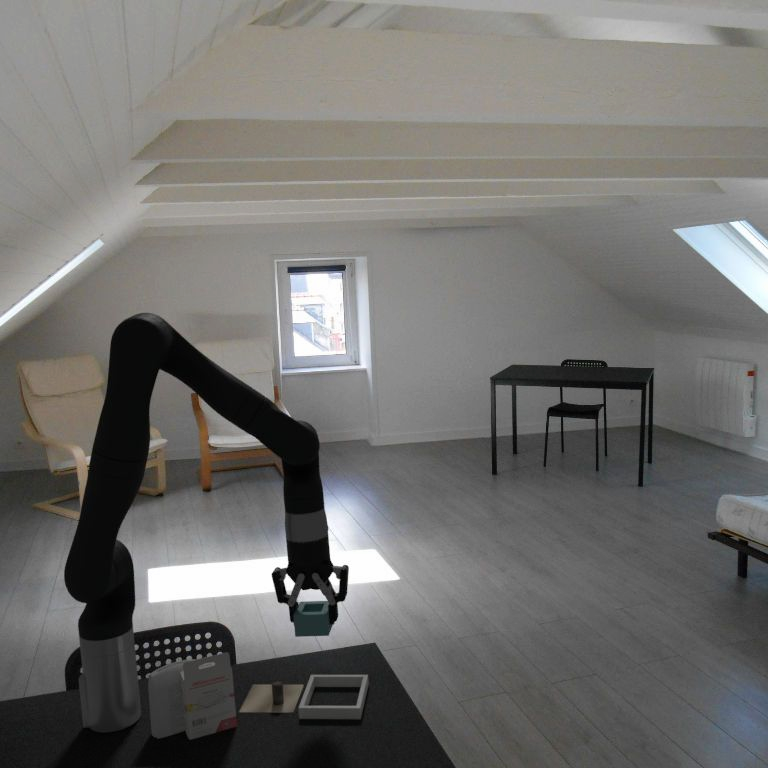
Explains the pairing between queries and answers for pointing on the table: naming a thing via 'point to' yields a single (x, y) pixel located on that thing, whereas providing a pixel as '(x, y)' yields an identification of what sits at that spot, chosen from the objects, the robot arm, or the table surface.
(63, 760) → the table surface
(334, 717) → the tray
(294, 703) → the peg board
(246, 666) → the table surface
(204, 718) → the ink cartridge box
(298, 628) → the teal hollow block
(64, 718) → the table surface
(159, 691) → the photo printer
